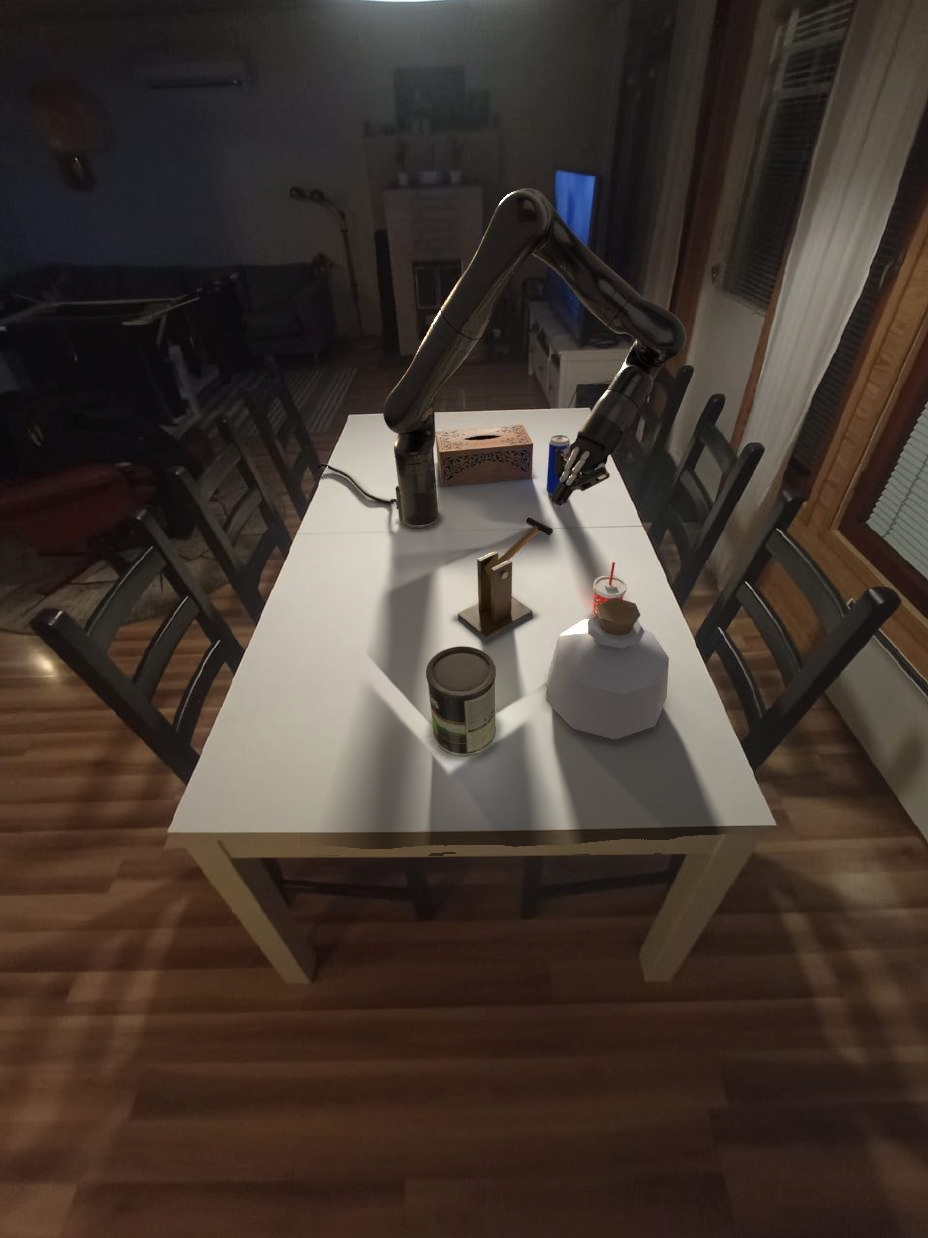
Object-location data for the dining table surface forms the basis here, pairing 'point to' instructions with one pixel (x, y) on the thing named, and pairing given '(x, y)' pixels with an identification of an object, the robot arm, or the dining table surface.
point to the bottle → (609, 673)
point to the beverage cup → (607, 589)
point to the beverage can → (554, 443)
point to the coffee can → (462, 700)
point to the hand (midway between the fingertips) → (555, 503)
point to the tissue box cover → (484, 454)
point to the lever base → (494, 599)
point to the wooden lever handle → (520, 542)
